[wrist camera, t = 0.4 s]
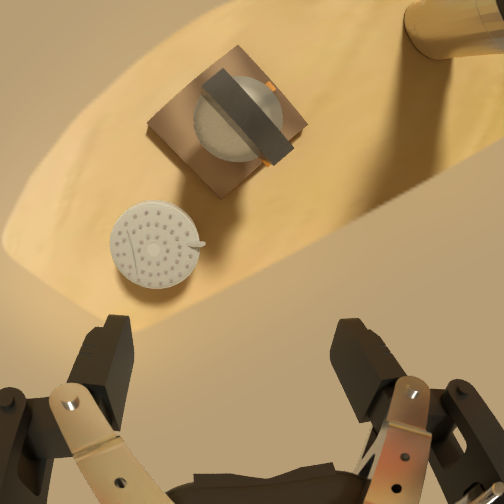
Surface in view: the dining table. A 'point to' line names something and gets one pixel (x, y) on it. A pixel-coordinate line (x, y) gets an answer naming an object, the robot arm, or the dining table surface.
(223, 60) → the post base
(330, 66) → the dining table surface
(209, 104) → the knob
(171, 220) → the showerhead
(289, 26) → the dining table surface
